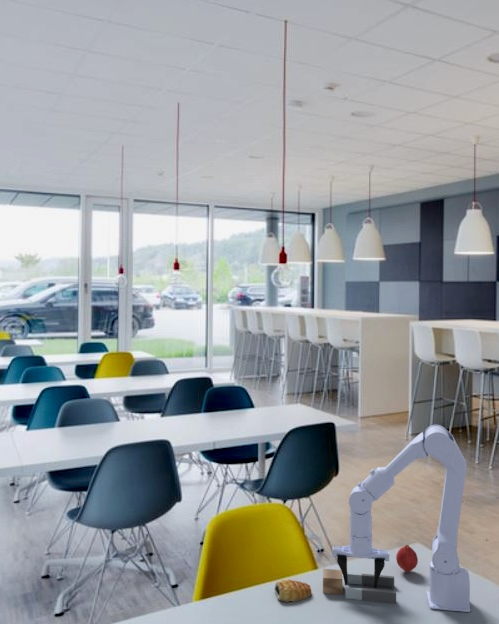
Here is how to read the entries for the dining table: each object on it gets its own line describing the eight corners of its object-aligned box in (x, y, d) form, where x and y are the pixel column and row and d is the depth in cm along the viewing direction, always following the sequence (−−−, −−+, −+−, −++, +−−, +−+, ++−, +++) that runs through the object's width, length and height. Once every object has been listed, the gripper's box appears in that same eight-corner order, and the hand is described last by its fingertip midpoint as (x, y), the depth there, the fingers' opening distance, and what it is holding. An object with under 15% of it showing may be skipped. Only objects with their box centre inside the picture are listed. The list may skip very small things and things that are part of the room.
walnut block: (341, 584, 155) (341, 570, 155) (342, 594, 150) (342, 579, 150) (323, 583, 156) (323, 568, 156) (323, 592, 151) (323, 577, 151)
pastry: (306, 587, 154) (306, 573, 154) (315, 600, 148) (315, 585, 148) (272, 591, 152) (272, 577, 152) (280, 605, 146) (280, 590, 145)
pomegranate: (395, 566, 165) (395, 538, 165) (415, 567, 165) (416, 540, 164) (397, 576, 160) (397, 547, 159) (419, 577, 159) (419, 548, 159)
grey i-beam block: (394, 585, 155) (394, 576, 155) (396, 603, 146) (396, 593, 146) (346, 581, 157) (346, 572, 157) (345, 598, 148) (345, 588, 148)
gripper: (388, 529, 154) (388, 579, 154) (333, 525, 157) (333, 575, 157) (389, 540, 147) (389, 593, 147) (332, 536, 150) (332, 588, 150)
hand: (360, 584), depth 152 cm, fingers open, 7 cm apart
